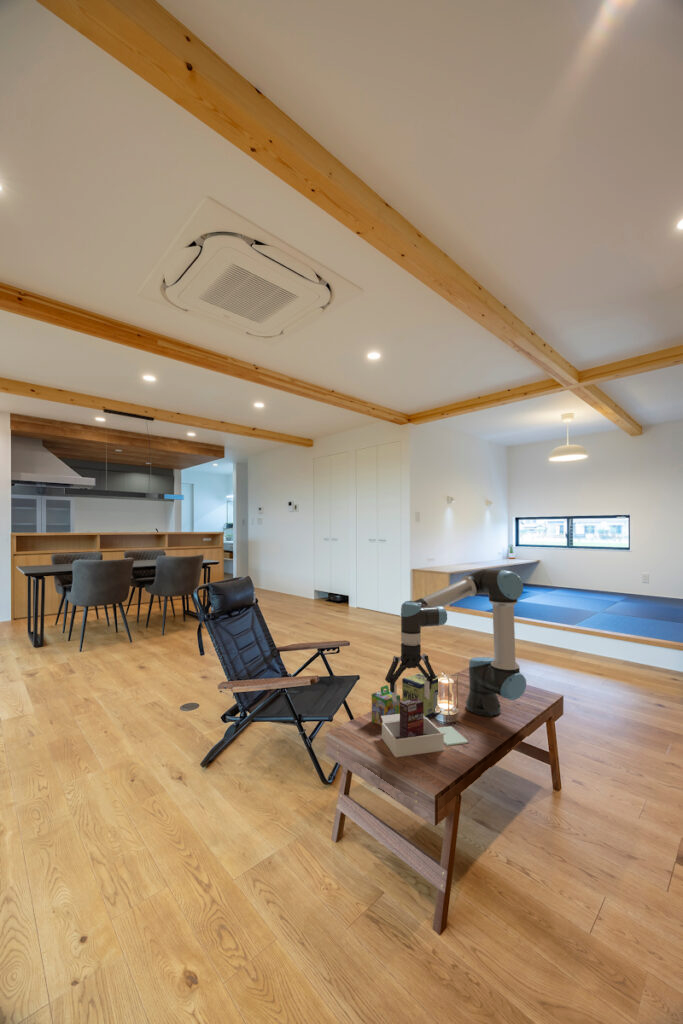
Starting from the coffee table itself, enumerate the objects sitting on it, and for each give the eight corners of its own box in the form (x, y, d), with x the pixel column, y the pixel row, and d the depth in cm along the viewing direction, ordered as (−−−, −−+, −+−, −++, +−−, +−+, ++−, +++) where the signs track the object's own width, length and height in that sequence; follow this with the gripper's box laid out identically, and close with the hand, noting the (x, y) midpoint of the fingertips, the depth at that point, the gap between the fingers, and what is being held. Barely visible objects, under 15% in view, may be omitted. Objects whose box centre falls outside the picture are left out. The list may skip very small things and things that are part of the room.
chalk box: (386, 729, 166) (386, 692, 166) (370, 721, 173) (370, 686, 174) (401, 722, 171) (401, 687, 172) (385, 715, 178) (385, 681, 179)
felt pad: (451, 727, 167) (451, 726, 167) (468, 743, 154) (468, 741, 154) (431, 730, 165) (431, 728, 165) (447, 745, 152) (447, 744, 152)
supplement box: (407, 750, 149) (407, 706, 150) (399, 744, 153) (398, 701, 154) (424, 743, 154) (424, 701, 155) (415, 738, 158) (415, 697, 159)
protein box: (401, 713, 180) (401, 678, 181) (423, 704, 190) (423, 671, 191) (420, 721, 172) (419, 684, 173) (442, 711, 182) (441, 677, 183)
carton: (423, 729, 165) (423, 710, 166) (447, 754, 146) (447, 733, 147) (379, 734, 161) (379, 715, 161) (398, 761, 141) (398, 739, 142)
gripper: (435, 639, 163) (435, 692, 161) (377, 642, 156) (376, 698, 155) (444, 643, 155) (444, 700, 154) (384, 647, 149) (383, 706, 148)
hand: (410, 699), depth 154 cm, fingers open, 13 cm apart
